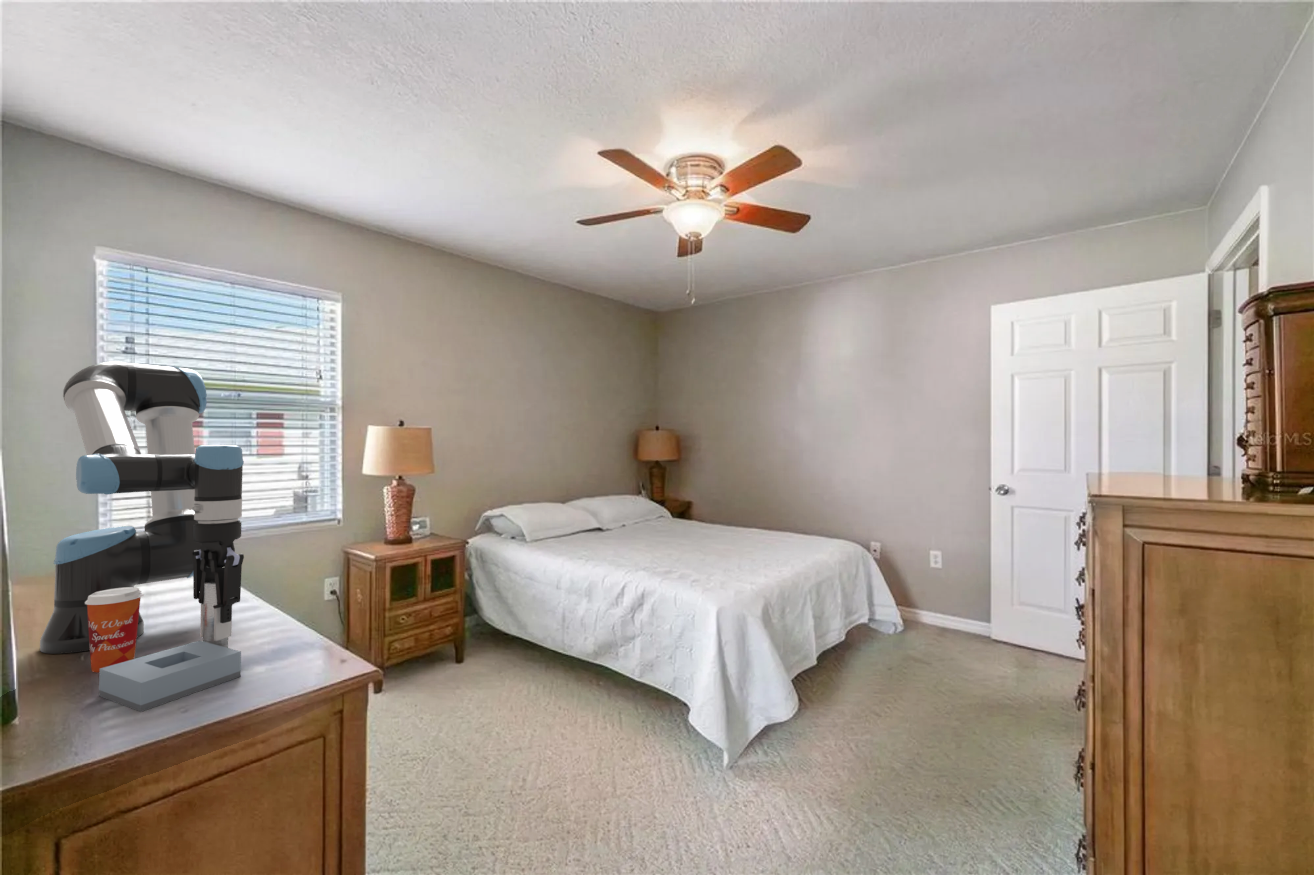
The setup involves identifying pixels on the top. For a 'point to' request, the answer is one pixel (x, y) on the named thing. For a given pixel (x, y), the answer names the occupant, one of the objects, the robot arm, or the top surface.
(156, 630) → the top surface
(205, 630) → the pin
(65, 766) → the top surface
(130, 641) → the paper cup
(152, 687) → the socket block
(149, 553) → the robot arm
